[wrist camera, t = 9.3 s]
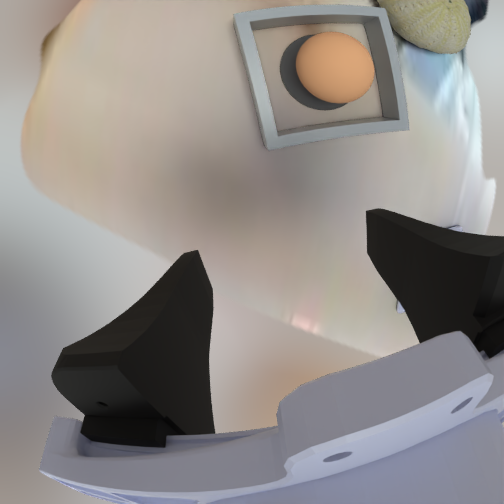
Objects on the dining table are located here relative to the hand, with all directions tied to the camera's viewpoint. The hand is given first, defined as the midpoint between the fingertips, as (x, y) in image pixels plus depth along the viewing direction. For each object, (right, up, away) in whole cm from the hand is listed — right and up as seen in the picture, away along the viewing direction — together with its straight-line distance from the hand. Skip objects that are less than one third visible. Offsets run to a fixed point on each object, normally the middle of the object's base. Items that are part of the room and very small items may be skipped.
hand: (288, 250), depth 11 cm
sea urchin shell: (+12, +20, +2) cm, 24 cm away
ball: (+3, +13, +5) cm, 14 cm away
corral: (+4, +13, +5) cm, 14 cm away
